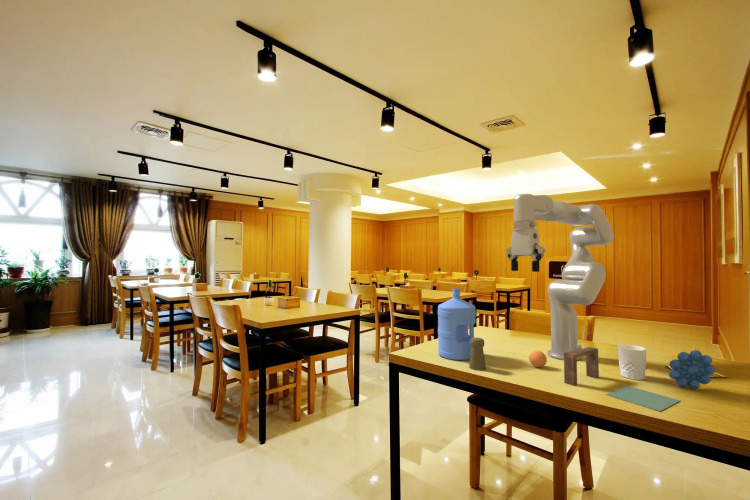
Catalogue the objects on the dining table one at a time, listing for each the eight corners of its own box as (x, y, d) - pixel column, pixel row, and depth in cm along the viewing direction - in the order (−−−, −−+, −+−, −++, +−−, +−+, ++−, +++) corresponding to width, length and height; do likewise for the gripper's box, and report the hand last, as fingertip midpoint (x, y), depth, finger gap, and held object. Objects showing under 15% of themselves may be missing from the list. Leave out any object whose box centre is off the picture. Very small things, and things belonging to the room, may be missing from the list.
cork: (487, 370, 123) (486, 340, 123) (469, 369, 124) (469, 339, 124) (485, 365, 128) (484, 336, 129) (468, 364, 130) (468, 335, 130)
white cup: (641, 374, 118) (640, 345, 118) (651, 382, 111) (650, 351, 111) (615, 371, 121) (614, 343, 121) (623, 379, 113) (622, 349, 114)
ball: (535, 363, 131) (535, 347, 131) (550, 367, 125) (550, 351, 126) (525, 366, 128) (525, 350, 128) (540, 370, 122) (540, 353, 123)
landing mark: (627, 386, 107) (627, 385, 107) (680, 401, 96) (680, 400, 96) (606, 394, 100) (606, 394, 100) (660, 411, 89) (660, 410, 89)
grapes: (707, 386, 107) (706, 347, 107) (721, 394, 100) (720, 353, 101) (662, 381, 111) (661, 345, 111) (673, 389, 104) (671, 350, 105)
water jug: (432, 356, 140) (431, 289, 141) (446, 348, 153) (446, 286, 154) (468, 363, 132) (467, 291, 132) (481, 353, 144) (480, 288, 145)
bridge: (564, 382, 110) (563, 352, 111) (589, 374, 118) (588, 346, 118) (573, 385, 108) (573, 355, 108) (598, 377, 115) (598, 348, 115)
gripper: (551, 225, 124) (551, 271, 123) (513, 229, 139) (513, 270, 139) (536, 224, 121) (537, 272, 120) (499, 228, 136) (500, 270, 136)
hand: (524, 271), depth 129 cm, fingers open, 9 cm apart
